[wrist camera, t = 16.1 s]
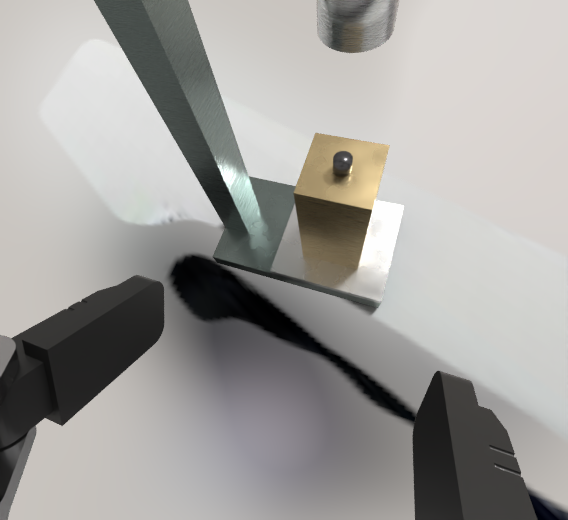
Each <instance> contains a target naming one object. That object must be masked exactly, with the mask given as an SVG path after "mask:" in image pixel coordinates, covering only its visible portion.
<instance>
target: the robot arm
mask: <svg viewBox="0 0 568 520" xmlns="http://www.w3.org/2000/svg"><path fill="white" fill-rule="evenodd" d="M163 328H164V287H163V285H162V283H160V282H158V281H155V280H152V279H149V278H146V277H142V276H139V275H136V276H133V277H131V278H130V279H128V280H126V281H124V282H123V283H121V284H119V285H117V286H113V287H110V288H107V289H103V290H100V291H97V292H95V293H94V294H91V295H90V296H88V297H86V298H84V299H82V301H81V302H77V303H75V304H73V305H71V306H70V307H69V308H68V309H64V310H62V311H60V312H59V313H57V314H55V315H53V316H51V317H49V318H48V319H46V320H44V321H42V322H40V323H39V324H37V325H35V326H33V327H31V328H29V329H28V330H26V331H24V332H22V333H20V334H19V335H17V336H15V337H13V338H9V337H6V336H1V335H0V520H8V516H9V512H10V508H11V505H12V502H13V499H14V497H15V494H16V491H17V488H18V485H19V482H20V479H21V476H22V474H23V471H24V468H25V465H26V462H27V459H28V456H29V453H30V451H31V448H32V445H33V442H34V439H35V436H36V426H35V425H37V424H38V423H39V422H40V421H41V420H43V419H44V418H47V419H49V420H51V421H53V422H55V423H57V424H59V425H62V426H63V425H64V424H65V423H66V422H67V421H68V420H69V419H70V418H72V417H73V416H74V415H75V414H76V413H77V412H78V411H79V410H81V409H82V408H83V407H84V406H85V405H86V404H88V403H89V402H90V401H91V400H92V399H93V398H94V397H95V396H97V395H98V393H100V392H101V391H102V390H103V389H104V388H105V387H106V386H108V385H109V384H110V383H111V382H112V381H113V380H115V379H116V378H117V377H118V376H119V375H120V374H121V373H122V372H123V371H125V370H126V369H127V368H128V367H129V366H130V365H131V364H133V363H134V362H135V361H136V360H137V359H138V358H139V357H140V356H142V355H143V354H144V353H145V352H146V351H147V350H148V349H150V348H151V347H152V346H153V345H154V344H155V343H156V342H157V341H158V339H159V338H160V336H161V334H162V331H163ZM514 454H515V453H514V450H513V447H512V444H511V441H510V438H509V436H508V433H507V431H506V429H505V428H504V427H503V425H502V424H501V423H500V421H499V420H498V419H497V417H496V416H495V415H494V413H493V412H492V410H490V409H487V408H484V407H480V406H478V402H477V398H476V395H475V391H474V387H473V384H472V382H471V381H469V380H466V379H463V378H460V377H457V376H454V375H450V374H447V373H444V372H440V371H437V372H436V373H435V374H434V376H433V378H432V381H431V383H430V385H429V387H428V390H427V392H426V394H425V397H424V399H423V401H422V404H421V406H420V408H419V410H418V413H417V416H416V419H415V423H414V428H413V466H414V499H415V520H537V518H536V515H535V512H534V509H533V506H532V503H531V500H530V497H529V494H528V491H527V488H526V485H525V483H524V480H523V478H522V477H521V471H520V468H519V465H518V462H517V459H516V458H515V457H514Z"/></svg>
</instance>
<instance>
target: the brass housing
mask: <svg viewBox="0 0 568 520" xmlns="http://www.w3.org/2000/svg"><path fill="white" fill-rule="evenodd" d="M388 150H389V145H384V144H377V143H372V142H366V141H360V140H354V139H348V138H343V137H337V136H331V135H325V134H319V133H315V136H314V139H313V141H312V144H311V147H310V149H309V152H308V155H307V158H306V160H305V163H304V166H303V169H302V171H301V174H300V177H299V179H298V182H297V185H296V188H295V190H294V199H295V206H296V213H297V219H298V226H299V232H300V239H301V245H302V252H303V256H307V257H311V258H315V259H319V260H323V261H327V262H331V263H335V264H338V265H342V266H346V267H350V268H354V269H358V266H359V262H360V259H361V255H362V251H363V247H364V243H365V240H366V236H367V232H368V228H369V224H370V221H371V217H372V213H373V209H374V205H375V201H376V197H377V193H378V189H379V185H380V181H381V177H382V173H383V170H384V165H385V161H386V157H387V154H388Z"/></svg>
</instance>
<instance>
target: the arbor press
mask: <svg viewBox="0 0 568 520" xmlns="http://www.w3.org/2000/svg"><path fill="white" fill-rule="evenodd" d="M94 1H95V3H96V5H97V6H98V8H99V10H100V11H101V13H102V15H103V16H104V18H105V20H106V22H107V24H108V25H109V27H110V29H111V30H112V32H113V34H114V36H115V37H116V39H117V41H118V42H119V44H120V46H121V48H122V50H123V51H124V53H125V55H126V56H127V58H128V60H129V62H130V63H131V65H132V67H133V69H134V70H135V72H136V74H137V75H138V77H139V79H140V81H141V82H142V84H143V86H144V87H145V89H146V91H147V93H148V94H149V96H150V98H151V100H152V101H153V103H154V105H155V106H156V108H157V110H158V112H159V113H160V115H161V117H162V119H163V120H164V122H165V124H166V125H167V127H168V129H169V131H170V132H171V134H172V136H173V138H174V139H175V141H176V143H177V144H178V146H179V148H180V150H181V151H182V153H183V155H184V157H185V158H186V160H187V162H188V163H189V165H190V167H191V169H192V170H193V172H194V174H195V176H196V177H197V179H198V181H199V182H200V184H201V186H202V188H203V189H204V191H205V193H206V195H207V196H208V198H209V200H210V201H211V203H212V205H213V207H214V208H215V210H216V212H217V214H218V215H219V217H220V219H221V220H222V222H223V224H224V226H225V230H224V232H223V234H222V237H221V239H220V241H219V243H218V246H217V248H216V250H215V253H214V255H213V258H214V259H215V260H216V262H217V263H220V264H224V265H227V266H231V267H234V268H238V269H241V270H245V271H249V272H252V273H256V274H259V275H263V276H266V277H270V278H273V279H277V280H280V281H284V282H287V283H291V284H295V285H298V286H302V287H305V288H309V289H312V290H316V291H319V292H323V293H326V294H330V295H334V296H337V297H341V298H344V299H348V300H351V301H355V302H358V303H362V304H365V305H369V306H373V307H376V308H378V307H379V305H380V304H381V302H382V298H383V294H384V290H385V285H386V281H387V277H388V272H389V268H390V264H391V260H392V255H393V251H394V247H395V242H396V238H397V234H398V230H399V225H400V221H401V217H402V213H403V208H404V206H402V205H397V204H393V203H388V202H383V201H378V200H376V201H375V205H374V209H373V213H372V217H371V221H370V224H369V228H368V232H367V236H366V240H365V243H364V247H363V251H362V255H361V259H360V262H359V266H358V269H354V268H350V267H346V266H342V265H338V264H335V263H331V262H327V261H323V260H319V259H315V258H311V257H307V256H303V252H302V245H301V239H300V232H299V226H298V219H297V213H296V206H295V199H294V190H295V188H296V186H291V185H287V184H282V183H277V182H272V181H268V180H263V179H258V178H254V177H249V176H248V174H247V171H246V168H245V165H244V162H243V159H242V156H241V153H240V150H239V148H238V145H237V142H236V139H235V136H234V133H233V130H232V127H231V124H230V121H229V118H228V116H227V113H226V110H225V107H224V104H223V101H222V98H221V95H220V92H219V90H218V87H217V84H216V81H215V78H214V75H213V73H212V69H211V66H210V63H209V60H208V58H207V55H206V52H205V49H204V46H203V43H202V40H201V37H200V34H199V31H198V28H197V25H196V23H195V20H194V17H193V14H192V11H191V8H190V5H189V2H188V0H94ZM398 4H399V0H317V31H318V36H319V38H320V40H321V41H322V42H323V43H324V44H325V45H326V46H328V47H329V48H331V49H334V50H337V51H340V52H346V53H358V52H364V51H368V50H372V49H374V48H377V47H379V46H380V45H382V44H383V43H385V42H386V41H387V40H388V39H389V38H390V36H391V35H392V33H393V31H394V25H395V21H396V15H397V10H398Z"/></svg>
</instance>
